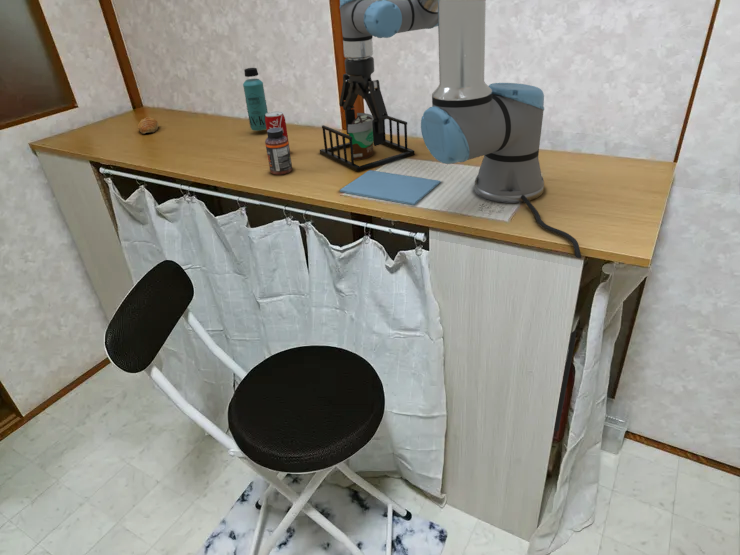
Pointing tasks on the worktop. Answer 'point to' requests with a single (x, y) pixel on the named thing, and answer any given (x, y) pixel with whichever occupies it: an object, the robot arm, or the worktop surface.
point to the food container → (362, 136)
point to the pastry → (148, 125)
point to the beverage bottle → (255, 100)
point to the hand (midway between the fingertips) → (364, 138)
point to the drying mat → (391, 187)
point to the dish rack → (330, 151)
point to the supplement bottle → (278, 152)
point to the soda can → (276, 121)
